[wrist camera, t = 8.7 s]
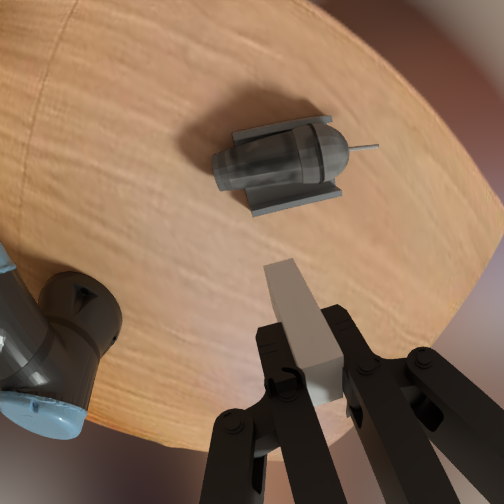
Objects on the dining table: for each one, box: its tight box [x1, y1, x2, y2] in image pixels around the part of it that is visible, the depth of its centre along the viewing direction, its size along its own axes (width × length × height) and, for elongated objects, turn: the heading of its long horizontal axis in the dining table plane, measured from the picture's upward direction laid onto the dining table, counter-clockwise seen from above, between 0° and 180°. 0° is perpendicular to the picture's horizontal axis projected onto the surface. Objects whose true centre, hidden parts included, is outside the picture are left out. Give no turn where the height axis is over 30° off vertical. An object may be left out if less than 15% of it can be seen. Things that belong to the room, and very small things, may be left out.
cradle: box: [232, 115, 342, 217], centre depth 36 cm, size 12×11×2 cm
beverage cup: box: [212, 123, 379, 191], centre depth 33 cm, size 7×7×20 cm
